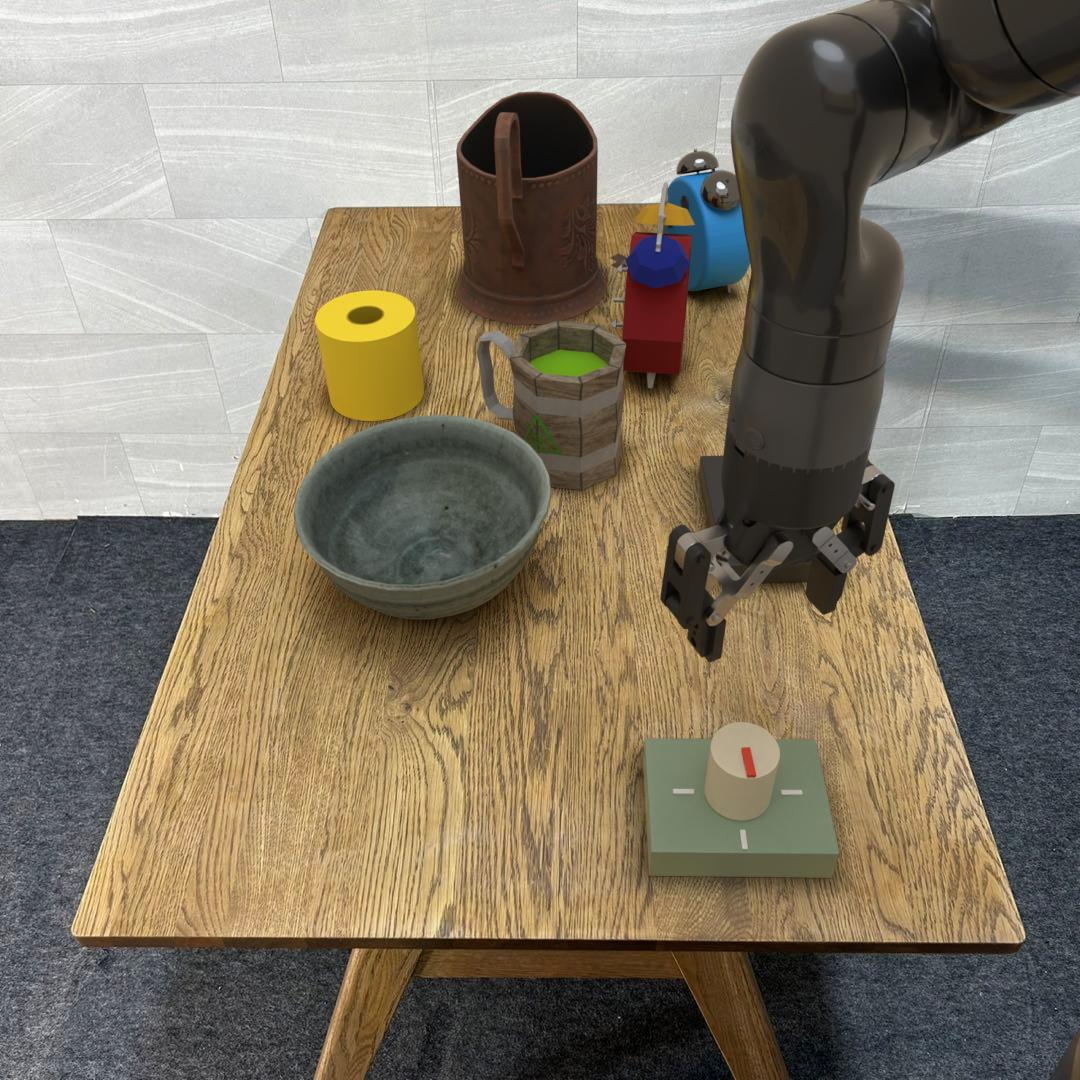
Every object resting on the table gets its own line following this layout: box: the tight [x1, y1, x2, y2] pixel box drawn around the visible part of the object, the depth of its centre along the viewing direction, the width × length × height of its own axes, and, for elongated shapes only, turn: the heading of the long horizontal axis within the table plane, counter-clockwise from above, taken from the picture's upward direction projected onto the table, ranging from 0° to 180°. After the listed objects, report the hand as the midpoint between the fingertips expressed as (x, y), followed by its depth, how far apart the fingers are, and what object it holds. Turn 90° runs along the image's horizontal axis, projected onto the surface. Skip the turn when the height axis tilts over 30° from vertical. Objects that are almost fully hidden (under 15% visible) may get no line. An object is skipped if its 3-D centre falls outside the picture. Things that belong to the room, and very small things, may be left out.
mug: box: [476, 320, 626, 491], centre depth 99 cm, size 16×11×12 cm
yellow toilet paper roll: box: [314, 289, 425, 422], centre depth 108 cm, size 10×10×9 cm
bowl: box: [293, 414, 552, 620], centre depth 87 cm, size 21×21×10 cm
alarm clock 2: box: [604, 181, 695, 390], centre depth 108 cm, size 15×9×20 cm, turn 171°
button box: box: [698, 454, 820, 584], centre depth 93 cm, size 15×10×4 cm, turn 1°
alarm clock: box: [665, 148, 751, 294], centre depth 122 cm, size 13×6×15 cm, turn 18°
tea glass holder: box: [455, 91, 608, 325], centre depth 117 cm, size 18×24×25 cm
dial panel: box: [642, 737, 840, 879], centre depth 71 cm, size 12×9×3 cm
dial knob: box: [704, 721, 780, 821], centre depth 68 cm, size 4×4×5 cm
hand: (763, 627), depth 66 cm, fingers open, 8 cm apart
